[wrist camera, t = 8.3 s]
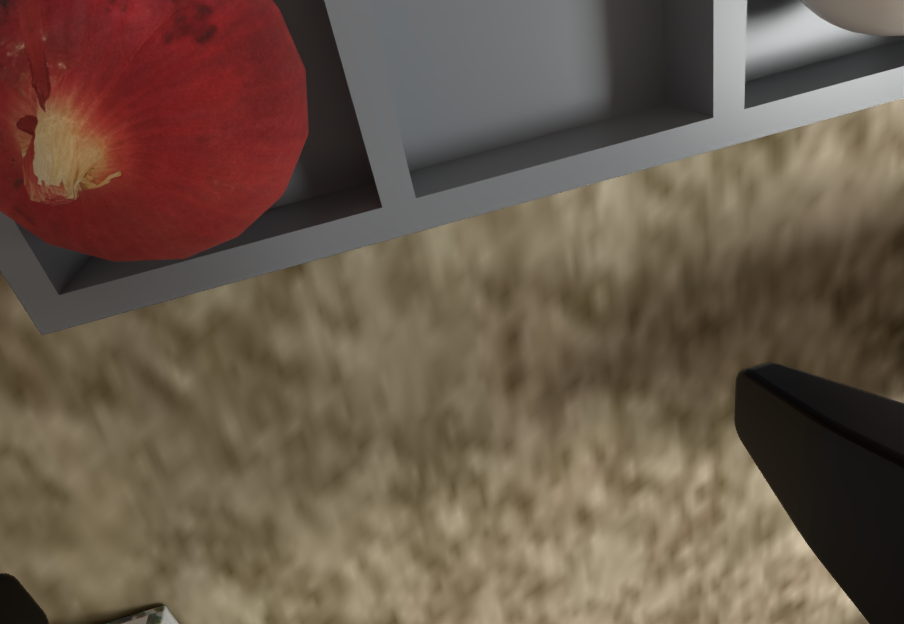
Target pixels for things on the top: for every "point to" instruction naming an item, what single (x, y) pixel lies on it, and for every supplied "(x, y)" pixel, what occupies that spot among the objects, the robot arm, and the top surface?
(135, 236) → the onion
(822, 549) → the robot arm
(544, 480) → the top surface
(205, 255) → the egg tray
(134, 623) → the syrup box
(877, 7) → the ceramic egg
